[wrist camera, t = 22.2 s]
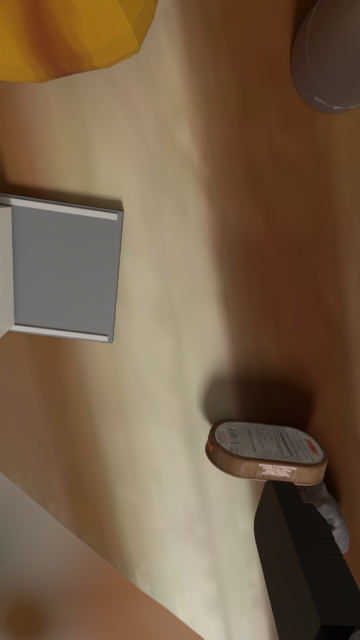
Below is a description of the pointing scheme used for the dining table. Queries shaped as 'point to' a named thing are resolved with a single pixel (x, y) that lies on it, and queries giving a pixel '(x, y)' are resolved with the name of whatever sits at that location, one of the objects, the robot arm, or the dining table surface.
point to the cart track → (64, 267)
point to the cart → (6, 271)
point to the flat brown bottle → (266, 452)
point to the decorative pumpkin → (69, 36)
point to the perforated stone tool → (327, 511)
